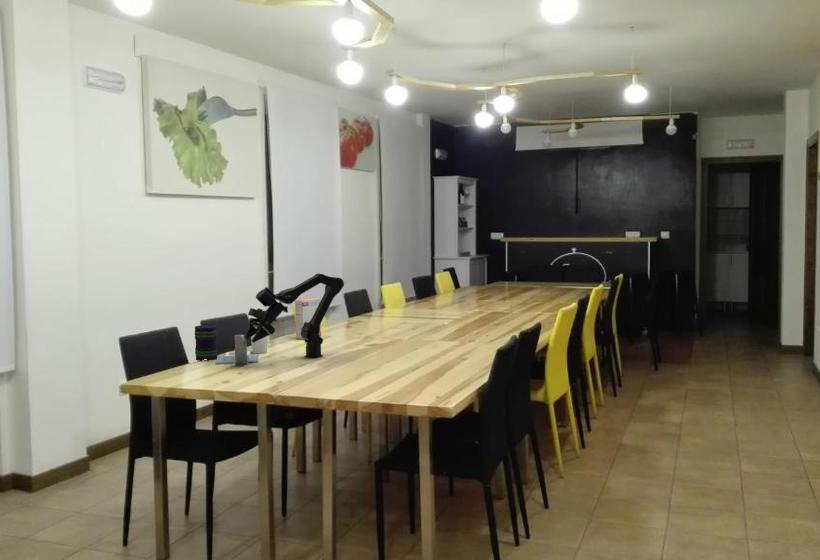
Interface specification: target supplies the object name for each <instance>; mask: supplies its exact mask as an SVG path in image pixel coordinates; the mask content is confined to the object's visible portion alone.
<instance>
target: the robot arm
mask: <svg viewBox="0 0 820 560" xmlns="http://www.w3.org/2000/svg"><path fill="white" fill-rule="evenodd" d="M319 284H322V285H325V286H324V294H323V296H322V297H321V298H320V303H319V305H318V307H317V309H316V311H315V313H314V315H313V317H312V319H311V320H310V321H309V322H305V323H304V325H303V327H302V328H301V330H302V331H301V337H302V338H303V339H304V340H303V341H304V343H306V344H305V345H306V346H305V355H304V356H303V357H305V358H312V359H316V358H320V357H324V354H322V344H323V343H324V342H323V341H324V339H323V338H322V336H319V332H320V324H321V325H322V322H323V320H324V318H325V316H326V314H327V312H328V310H329V308H330V305H331V303H332V302H333V300H334V298H335V297H336V296H337V295H338V294H339V293H340V292H341V290H343V288H344V285H345V282H344V280H343V279H342V278H341V277H337V276H336V277H335V276H328V275H325V274H323V273H317V272H316V273H315V275H313V276H311V277H309V278H307V279H306V280H304V281H302V282H300V283H299V284H297V285H295V286H294V287H291V288H286V289H283V290H281V291H279V292H278V293H275V294H274V293H273V292H272V290H270V288H269V287H267V286H266V287H264V288H263V289H261V290H260V291H258V293H257V294H255V299H256V300H257V301H258V302H259V303H260V304H261V305H262V306H263V307H268V308H267V309H266V310H263V309H261V308H257V309H255V308H252V307H250V309H249V311H248V313H247V315H248V316H251V317H249V319H248V320H247V325H248V327H247V328H248V329H246V330H247V331H246V333H245V335H246V338H247V340H248V339H251V336H253V335H255V334H256V335H255V336H254V338H253V339H252V342H253V343H254V342H256V341H258V340H260V339H262V338H264V337H266V336H268V337H269V336H271V335H273V334H275V332H276V329H275V327H274V326H273V325H272V324H273V323H274V322H277V321H278V320H277V318H278V317H279V316H280V315H281V314H282V312H283V313H287V314H288V312H289V311H288V306H287V305H291V304H293V303H295V301H296V300H298V298H299V297H300V296H301V295H303V294H304V293H306V292H307V291H309V290H311V289H313V288H314V287H317V286H318V285H319ZM278 301H279V302H278ZM284 304H285V305H284ZM252 342H251V343H252Z"/></svg>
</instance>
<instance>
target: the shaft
mask: <svg viewBox="0 0 820 560" xmlns="http://www.w3.org/2000/svg"><path fill="white" fill-rule="evenodd" d="M247 340H248V339H247V338H246V334H235V335H234V352H235V365H236V367H245V366H244V365H247V366H248V363H247V351H248V347H247V346H248V345H247V342H248V341H247Z"/></svg>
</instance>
